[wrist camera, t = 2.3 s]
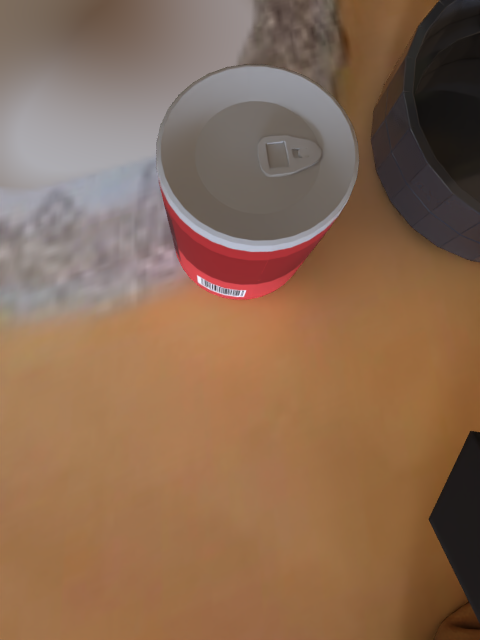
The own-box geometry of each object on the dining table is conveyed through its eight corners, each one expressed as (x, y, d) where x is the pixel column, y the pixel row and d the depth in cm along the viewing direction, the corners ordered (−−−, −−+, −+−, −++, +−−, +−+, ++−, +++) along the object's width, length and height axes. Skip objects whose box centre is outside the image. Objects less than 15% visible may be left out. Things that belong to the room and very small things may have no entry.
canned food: (322, 274, 28) (394, 202, 17) (203, 323, 27) (201, 279, 16) (272, 167, 29) (311, 34, 18) (156, 211, 28) (123, 98, 17)
